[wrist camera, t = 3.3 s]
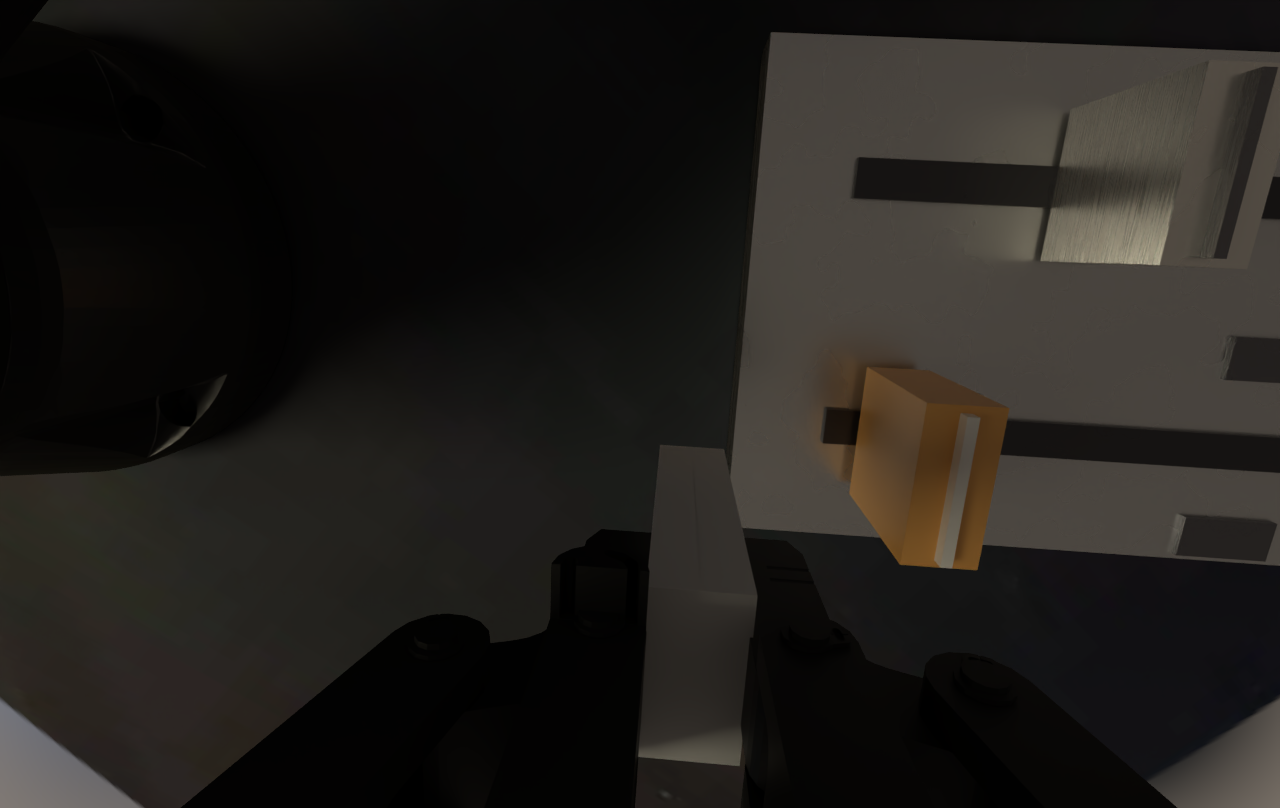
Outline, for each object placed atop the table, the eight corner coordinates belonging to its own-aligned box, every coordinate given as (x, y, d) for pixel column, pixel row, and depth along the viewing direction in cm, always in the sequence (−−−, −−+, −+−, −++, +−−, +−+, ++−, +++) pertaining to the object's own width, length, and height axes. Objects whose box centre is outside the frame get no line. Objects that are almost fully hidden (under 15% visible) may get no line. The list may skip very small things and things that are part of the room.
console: (721, 504, 25) (742, 613, 17) (761, 52, 21) (810, -57, 13) (1362, 549, 24) (1674, 684, 16) (1529, 83, 20) (2036, -15, 12)
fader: (849, 493, 21) (905, 571, 16) (867, 366, 20) (933, 406, 15) (908, 497, 21) (984, 577, 16) (929, 370, 20) (1018, 412, 15)
